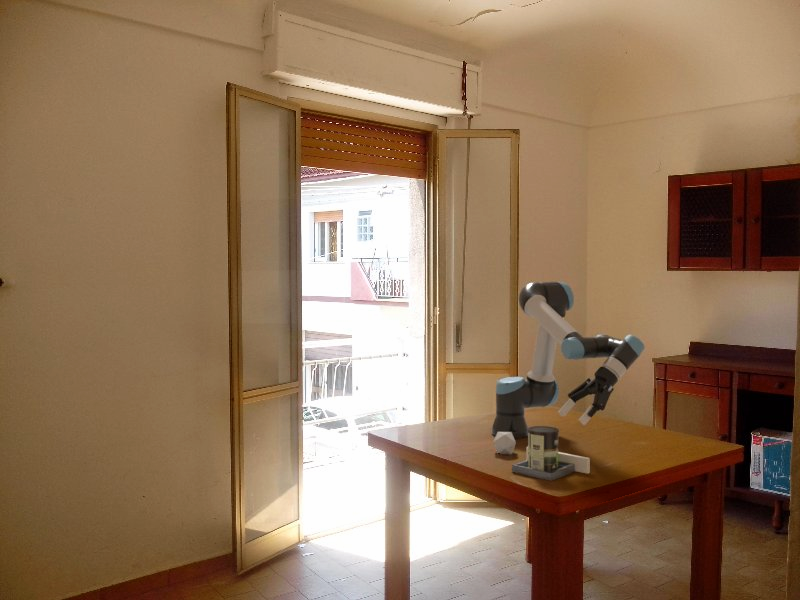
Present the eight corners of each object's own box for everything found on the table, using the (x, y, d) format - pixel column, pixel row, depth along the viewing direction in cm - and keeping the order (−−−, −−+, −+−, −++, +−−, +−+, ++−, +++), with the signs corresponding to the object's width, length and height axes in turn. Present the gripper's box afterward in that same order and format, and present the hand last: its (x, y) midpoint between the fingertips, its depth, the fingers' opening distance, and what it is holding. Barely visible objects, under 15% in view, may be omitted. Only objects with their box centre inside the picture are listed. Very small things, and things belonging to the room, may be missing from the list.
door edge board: (526, 460, 254) (526, 447, 253) (528, 460, 255) (528, 446, 255) (587, 473, 237) (587, 458, 237) (589, 472, 238) (589, 458, 238)
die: (507, 459, 258) (521, 437, 260) (487, 446, 261) (501, 424, 263) (507, 461, 266) (521, 440, 268) (487, 448, 269) (501, 427, 270)
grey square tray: (512, 472, 239) (512, 464, 239) (536, 463, 250) (536, 456, 250) (550, 481, 229) (551, 473, 229) (574, 471, 240) (574, 464, 240)
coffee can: (558, 467, 244) (558, 426, 243) (558, 475, 234) (558, 432, 233) (528, 465, 246) (528, 425, 246) (526, 473, 236) (527, 431, 235)
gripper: (638, 385, 234) (597, 433, 231) (596, 375, 258) (559, 418, 255) (624, 370, 233) (583, 418, 229) (583, 361, 257) (546, 404, 253)
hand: (570, 418), depth 242 cm, fingers open, 13 cm apart
